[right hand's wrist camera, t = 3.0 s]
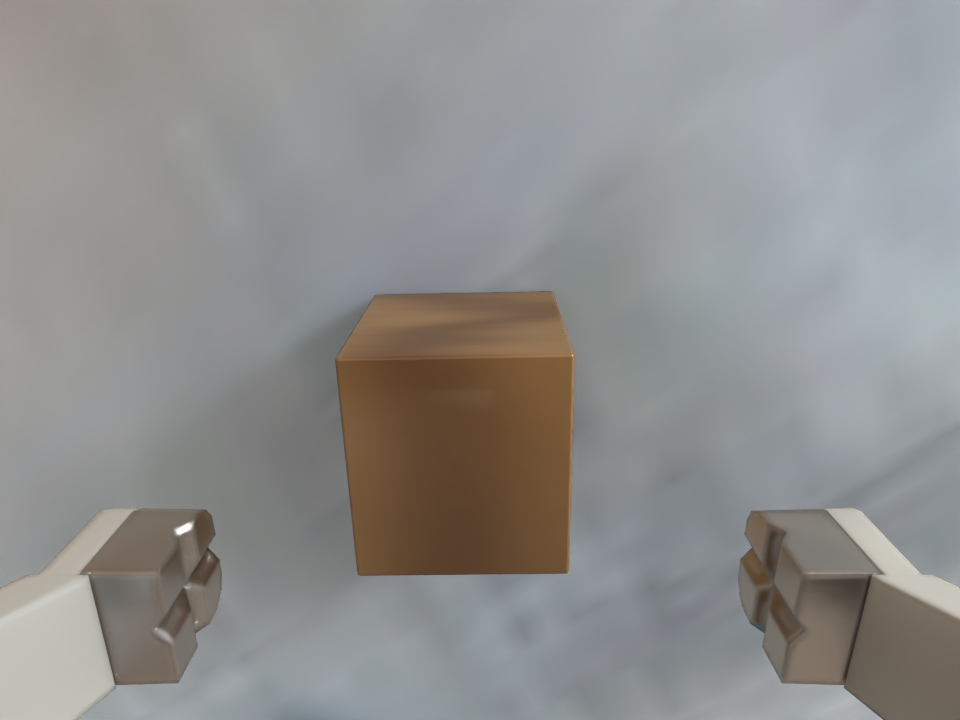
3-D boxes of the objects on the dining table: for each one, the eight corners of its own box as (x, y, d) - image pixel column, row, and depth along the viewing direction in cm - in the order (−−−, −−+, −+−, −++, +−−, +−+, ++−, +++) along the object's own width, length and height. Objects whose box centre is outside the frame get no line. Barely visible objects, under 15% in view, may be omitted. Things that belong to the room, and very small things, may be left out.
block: (553, 290, 16) (574, 353, 12) (550, 465, 18) (569, 574, 14) (374, 293, 16) (334, 358, 12) (388, 467, 18) (357, 576, 14)
